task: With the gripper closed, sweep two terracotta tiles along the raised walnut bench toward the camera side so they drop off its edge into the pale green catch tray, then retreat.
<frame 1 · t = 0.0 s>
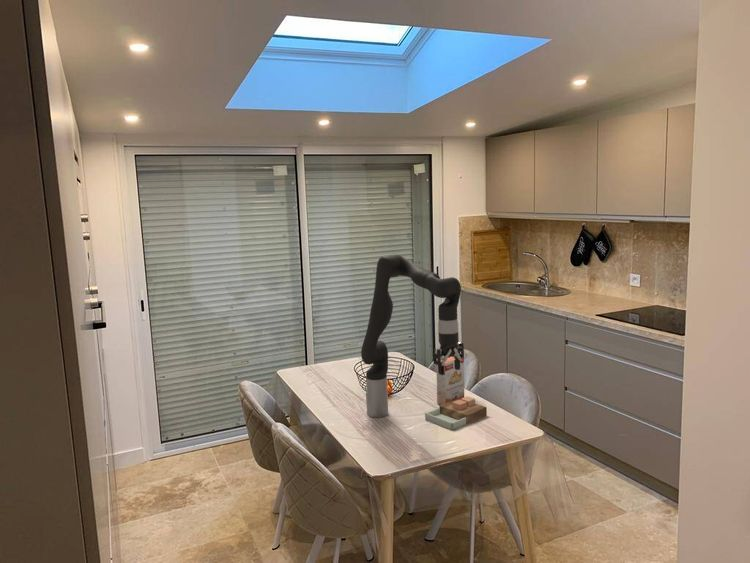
hand: (449, 372, 208), 29 cm above the table, fingers open, 8 cm apart
tile 2: (468, 404, 242), point 4 cm above the table, touching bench
tile 1: (459, 407, 239), point 4 cm above the table, touching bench
cracker box: (451, 401, 257), on the table
catch tray: (445, 422, 234), on the table
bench: (462, 414, 240), on the table
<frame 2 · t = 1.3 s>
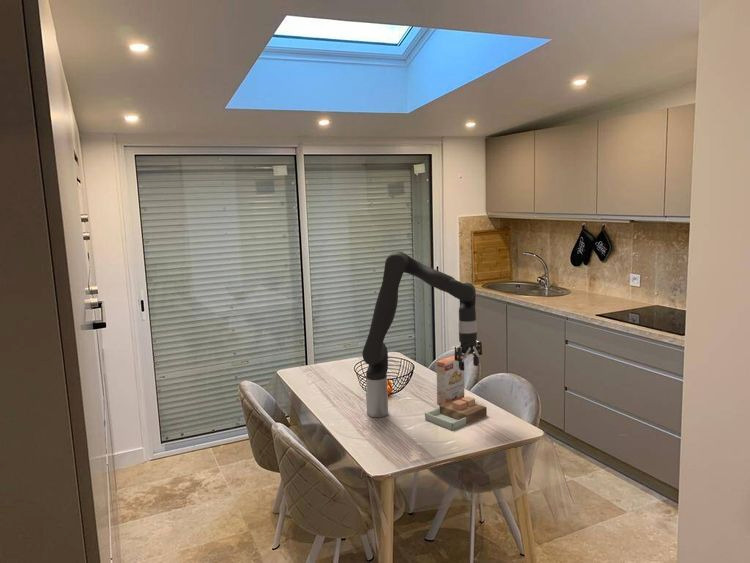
hand: (469, 367, 231), 23 cm above the table, fingers open, 8 cm apart
nothing on the table moved.
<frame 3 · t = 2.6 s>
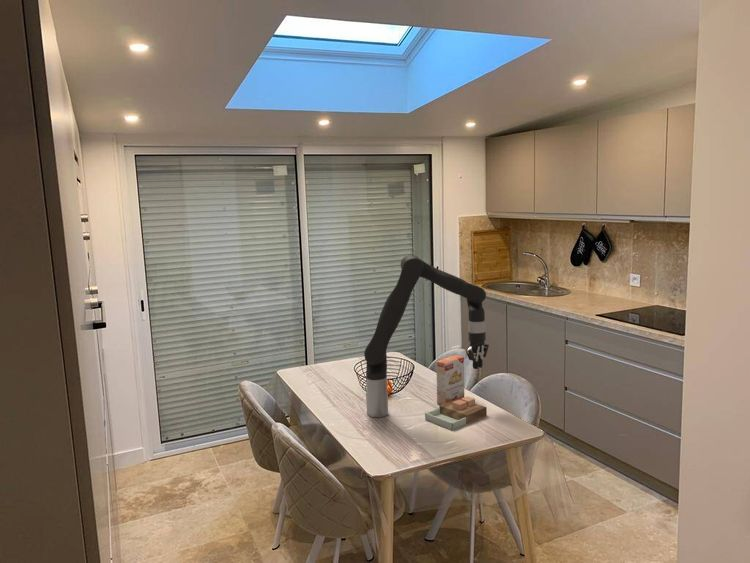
hand: (477, 367, 244), 19 cm above the table, fingers closed
nothing on the table moved.
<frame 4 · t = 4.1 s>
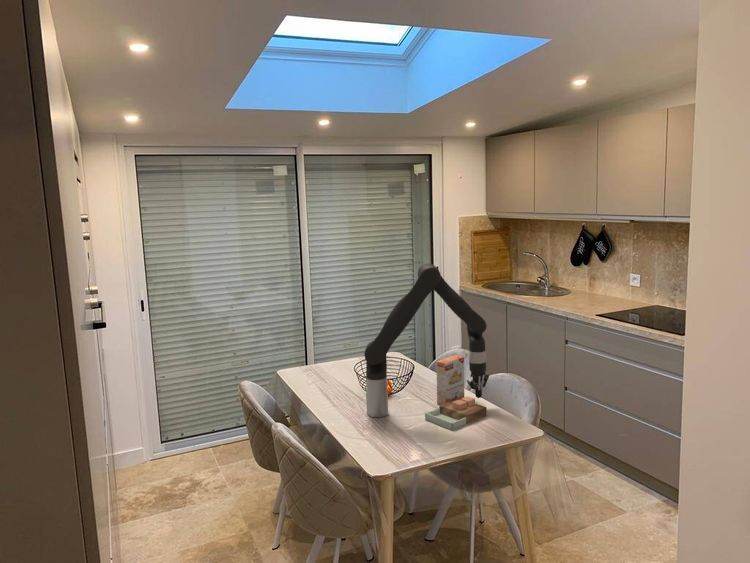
hand: (478, 397, 246), 5 cm above the table, fingers closed
nothing on the table moved.
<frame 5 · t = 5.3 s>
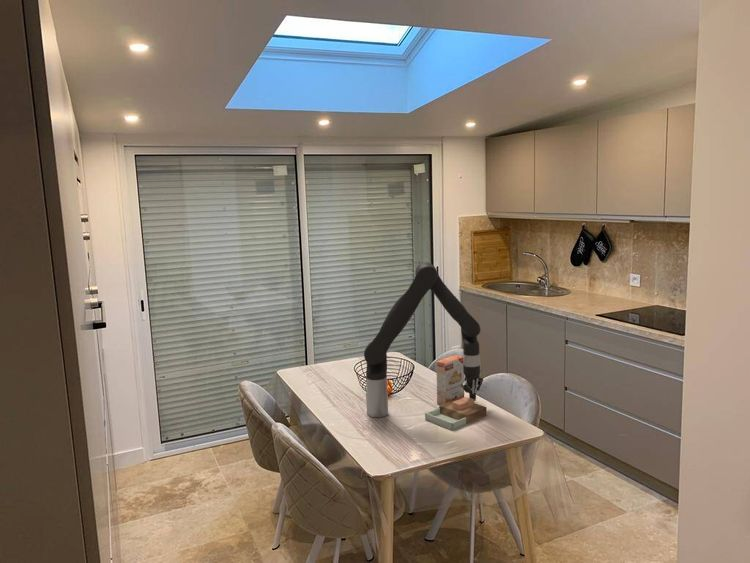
hand: (472, 400, 244), 5 cm above the table, fingers closed
tile 2: (467, 404, 242), point 4 cm above the table, touching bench, gripper
everything else where it was.
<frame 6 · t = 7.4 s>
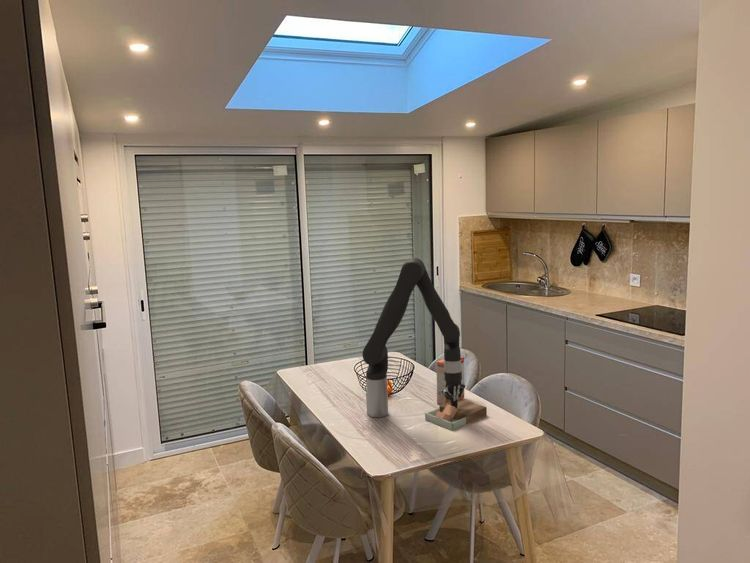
hand: (454, 408, 236), 5 cm above the table, fingers closed
tile 2: (451, 413, 235), point 3 cm above the table, tilted 41°, touching gripper, tile 1
tile 1: (444, 414, 232), point 4 cm above the table, tilted 142°, touching catch tray, tile 2
everything else where it was.
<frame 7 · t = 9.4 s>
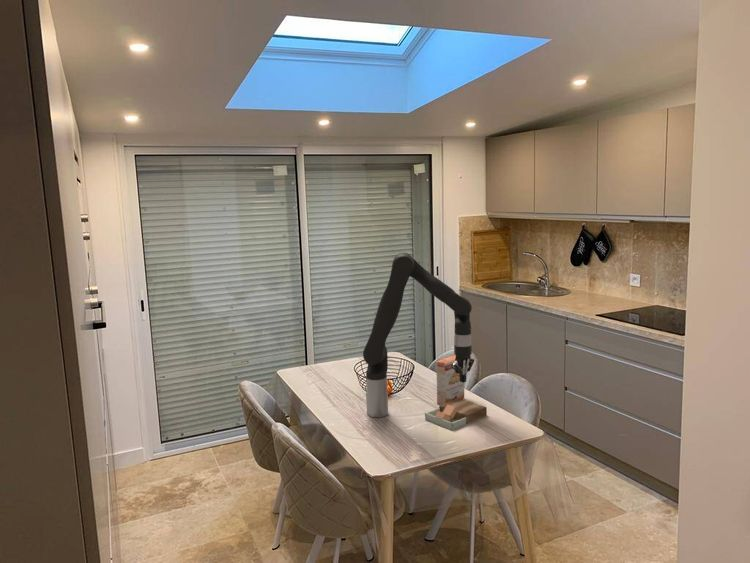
hand: (463, 381, 239), 15 cm above the table, fingers closed
tile 2: (451, 413, 235), point 3 cm above the table, tilted 39°, touching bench, tile 1
everything else where it was.
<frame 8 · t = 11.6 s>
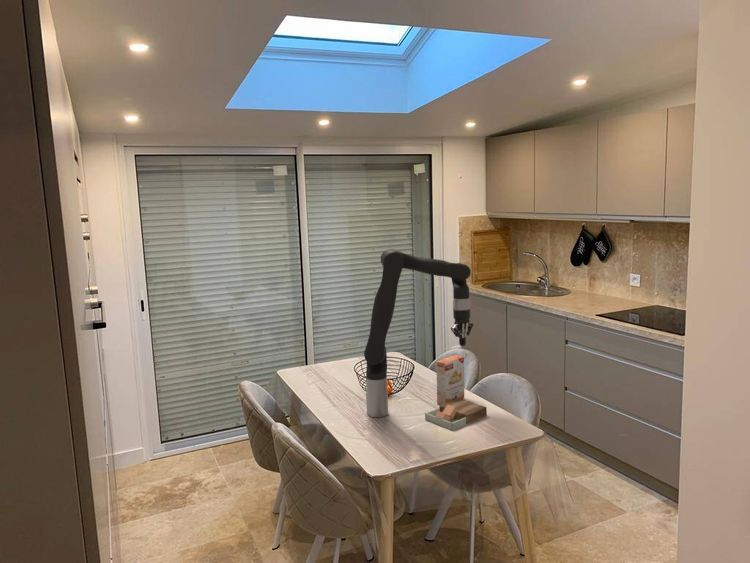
hand: (462, 345, 246), 29 cm above the table, fingers closed
nothing on the table moved.
at the end: tile 2 inside the target area on the catch tray (3.1 cm from its centre), point 3.1 cm above the catch tray's base; tile 1 inside the target area on the catch tray (1.0 cm from its centre), point 3.9 cm above the catch tray's base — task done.
